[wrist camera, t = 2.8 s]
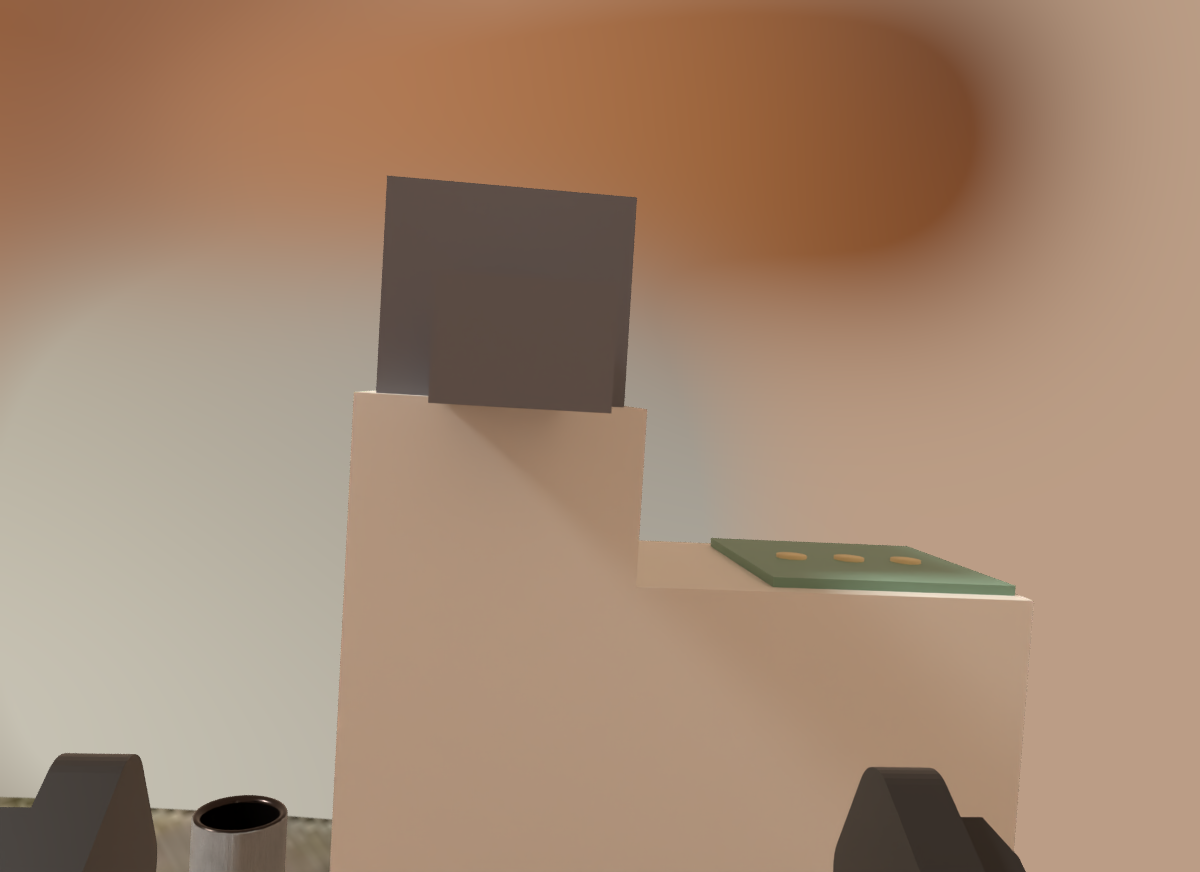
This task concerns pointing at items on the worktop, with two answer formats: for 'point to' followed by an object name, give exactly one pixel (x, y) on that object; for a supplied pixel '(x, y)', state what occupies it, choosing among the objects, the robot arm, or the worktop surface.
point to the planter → (239, 835)
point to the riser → (633, 664)
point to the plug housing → (505, 295)
